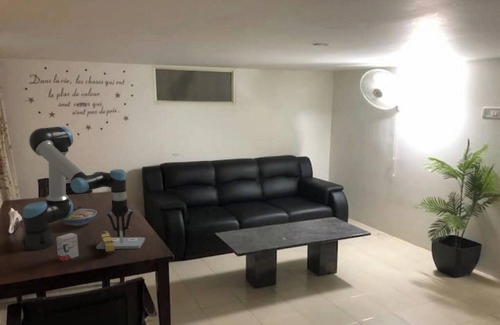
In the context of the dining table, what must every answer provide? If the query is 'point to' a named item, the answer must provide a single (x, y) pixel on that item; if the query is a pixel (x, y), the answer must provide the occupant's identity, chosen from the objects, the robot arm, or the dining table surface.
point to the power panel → (124, 243)
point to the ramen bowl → (80, 217)
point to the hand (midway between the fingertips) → (121, 242)
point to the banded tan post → (107, 241)
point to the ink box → (67, 246)
